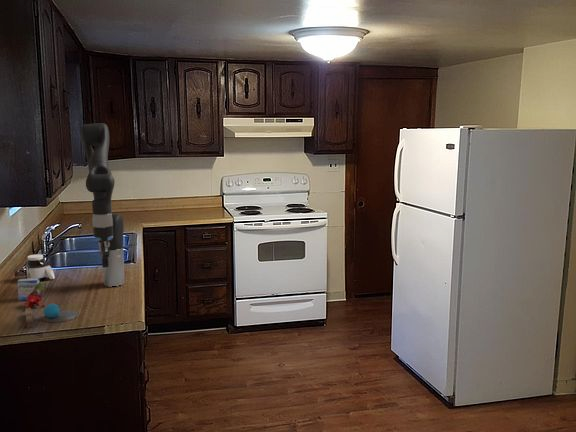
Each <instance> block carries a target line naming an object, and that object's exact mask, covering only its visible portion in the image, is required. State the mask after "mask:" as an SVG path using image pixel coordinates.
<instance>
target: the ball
mask: <svg viewBox="0 0 576 432" xmlns="http://www.w3.org/2000/svg"><path fill="white" fill-rule="evenodd" d="M60 311H61V310H60V307H59V305H57V304H55V303H49V304H47V305H45V307H44V309H43V313H44V315H45V316H46V317H48V318H55V317H56V316H58V314H59V312H60Z"/></svg>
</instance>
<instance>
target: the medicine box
mask: <svg viewBox="0 0 576 432" xmlns="http://www.w3.org/2000/svg"><path fill="white" fill-rule="evenodd" d="M38 283H40V281H39V278H28V277H27V278H19V279H18V280H17V294H18V295H17V297H18V301H19V302H24V301H26V302H27V301H28V295H29V294H30V293H31V292H33V289H34V288H35V286H36V285H37V284H38Z"/></svg>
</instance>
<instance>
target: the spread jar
mask: <svg viewBox="0 0 576 432" xmlns="http://www.w3.org/2000/svg"><path fill="white" fill-rule="evenodd" d="M25 268H26V276H27V279H28V278H39V282H43V281H44V280H45V279H46V278H47V276H48V278H49V279H50V280H54V279H55V278H56V277H55V273H54V271H53V268H52V267H51V266H50V265H46V261H45V259H44V254H40V253H39V254H30V255H28V256H27V262H26V267H25Z"/></svg>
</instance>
